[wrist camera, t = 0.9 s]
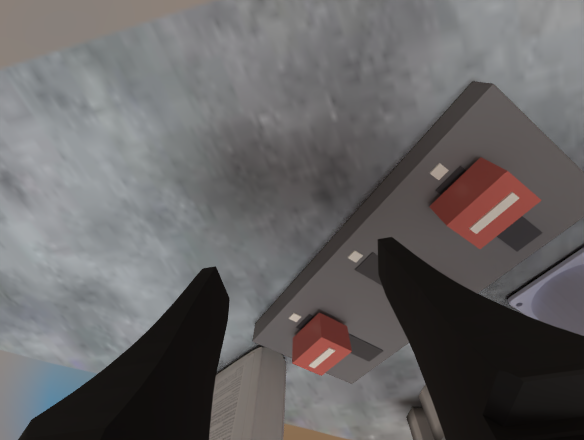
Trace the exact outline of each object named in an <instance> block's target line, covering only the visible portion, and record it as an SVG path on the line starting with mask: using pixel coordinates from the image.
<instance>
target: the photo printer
mask: <svg viewBox="0 0 584 440" xmlns="http://www.w3.org/2000/svg"><path fill="white" fill-rule="evenodd" d="M285 386H286V362H285V360H283V355H282V354H281V353H278V352H276V351H273V350H271V349H269V348H266V347H259V348H257V349H255V350H253V351H251V352H250V353H248V354H247V355H245V356H244V357H242V358H241V359H239V360H237V361H236V362H234V363H233V364H232V365H230V366H229V367H227V368H226V369H224V370H223V371H221V372H220V373H219V374H217V375H216V378H215V385H214V393H213V402H212V412H211V422H210V433H209V440H283V433H284V411H285Z"/></svg>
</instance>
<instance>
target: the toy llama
mask: <svg viewBox="0 0 584 440" xmlns="http://www.w3.org/2000/svg"><path fill="white" fill-rule="evenodd" d="M419 399H420V402H421V404H422V407H423V408H419V407H412V408H411V410H410V412H409V413H408V415H407V417H406V418H407V421H408V424H409V427H410V430H411V434H412V437H413V440H446V439H445V436H444V433H443V430H442V428H441V425H440V422H439V419H438V416H437V413H436V410H435V408H434V405H433V402H432V399H431V397H430V394H429V391H428V388H427V386H426V385H425V386H424V388H423V389H422V391H421V393H420V395H419Z"/></svg>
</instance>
